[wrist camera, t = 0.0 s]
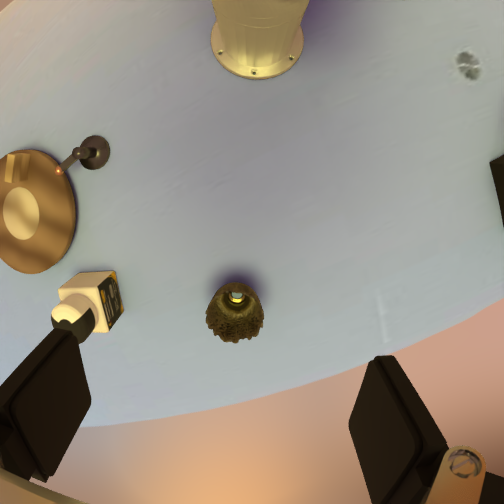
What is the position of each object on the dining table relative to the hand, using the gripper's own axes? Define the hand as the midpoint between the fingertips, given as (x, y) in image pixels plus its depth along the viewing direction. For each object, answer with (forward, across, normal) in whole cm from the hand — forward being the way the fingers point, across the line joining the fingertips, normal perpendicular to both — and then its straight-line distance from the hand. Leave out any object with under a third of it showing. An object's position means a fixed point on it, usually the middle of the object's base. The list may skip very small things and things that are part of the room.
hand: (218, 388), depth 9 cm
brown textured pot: (+37, 0, +13) cm, 39 cm away
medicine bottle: (+37, +22, +15) cm, 46 cm away
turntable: (+35, +35, +2) cm, 50 cm away
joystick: (+37, +23, -6) cm, 44 cm away
